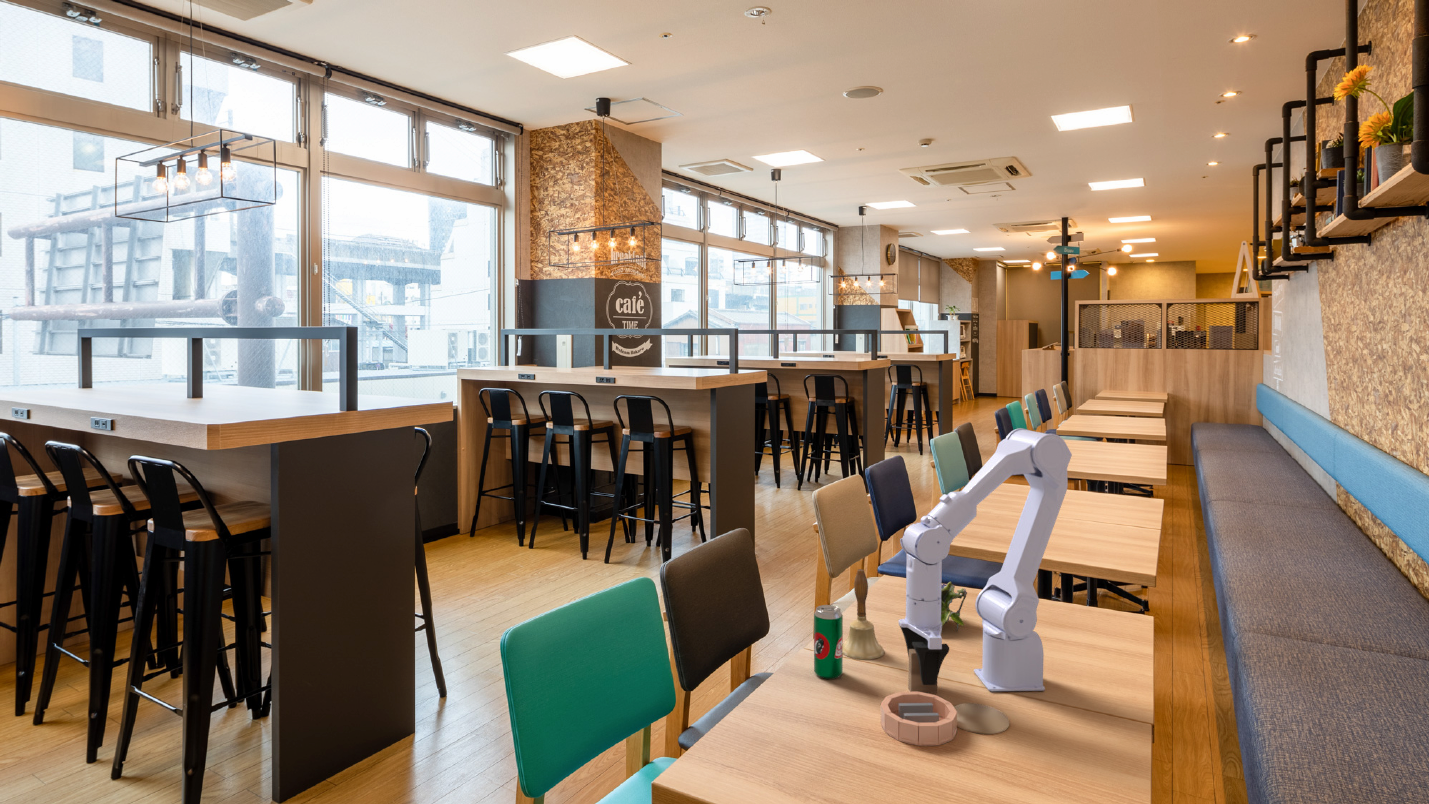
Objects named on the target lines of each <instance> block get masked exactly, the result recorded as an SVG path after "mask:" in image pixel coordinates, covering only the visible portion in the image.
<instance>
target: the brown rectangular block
mask: <svg viewBox="0 0 1429 804" xmlns="http://www.w3.org/2000/svg"><path fill="white" fill-rule="evenodd" d="M908 690H909V691H908V692H923V693H928V694H938V681H937V682H936V684H935V685H923V684H922V681H921V676H920V668H919V661H918V657H917V654H916V651H915V649H909V657H908Z"/></svg>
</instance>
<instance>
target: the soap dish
mask: <svg viewBox="0 0 1429 804" xmlns="http://www.w3.org/2000/svg"><path fill="white" fill-rule="evenodd" d="M880 724H881V725H880V726H881V728H882V730H883V732H885V734H886V735H888V736H890V737H891V738H893V739H895V740H897V741H898V742H902V743H905V744H909V745H913V746H920V747H921V746H922V747H932V746H933V747H935V746H940V745H944V744H947V743H949V742H951V741H953V740H954V738H955V737H956V736H957V730H958V726H957V711H956V710H955V708H954V705H953V703H951V702H950V701H948V700H946V699H944V698H942V697H940V695H939V696H938V695H937V694H936V695H935V694H933V693H923V692H910V691H898V692H895V693H892V694H889V695H886V696H885V697H884V699H883V700H882V702H881V703H880Z"/></svg>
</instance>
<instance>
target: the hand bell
mask: <svg viewBox="0 0 1429 804" xmlns="http://www.w3.org/2000/svg"><path fill="white" fill-rule="evenodd" d="M853 584H854V585H853V586H854V587H853V589H854V595H855V598H856V603H857V604H856V605H857V607H856V609H857V610H856V611H857V612H856V615H857V619H855V620H853V621H851V622H850V624H849V629H848V630H849V631H848V635H847V637H846V640H845V642H844V641H843V656H845V657H848V658H850V659H854V660H862V661H863V660H865V661H867V660H868V661H869V660H876V659H878V658H880V657H882V656H884V653H885V650H884V647H883V646H882V645H881V644H880V643H879V641H878V639H877V637H876V634H875V633H876V632H875V627H874V623H872V621H869V620H867V609H866V601H867V597H868V593H869V583H868V579H867V577H866V573H865V570H864V569H862V568H859V569H857V570H856V575H855V577H854V583H853Z"/></svg>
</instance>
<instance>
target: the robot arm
mask: <svg viewBox="0 0 1429 804" xmlns="http://www.w3.org/2000/svg"><path fill="white" fill-rule="evenodd" d="M1072 455H1073V453H1072V452H1071V449H1069V446H1068V445H1067V443H1066V441H1065V440H1064V438H1063V437H1061V436H1059V435H1058V434H1054V433H1045V432H1039V431H1033V430H1029V429H1026V428H1021V427H1019V428H1016V429H1013V430H1011V431H1010V432H1009V433H1008V434H1007V435H1006V437H1005V438H1004V439H1002V440H1001V441H1000V442H999V443H998V444H997V447H996V450H995V452H994V453H993V455H992V456H991V457H990V458H989V459H988V461H986V462H985V463H984V465H983V466H982V467H981V468H980V469H979V470H978V471H977V472H976V474H975V475H974V476H973V477H972V478H971V479H970V480H969V481H968V482H967V484H966V485H965V486H964V487H963V488H962V490H960V491H950V492H949V493H947V494H945V493H944V494H942V495H941V497H939V502H938V503H937V504H936V505H935V507H934V508H932V510H930V511H929V512H928V513H927V514H926V515H923V516H921V518H920V522H916V523H912V524H910V525H909V526H908V527H907V528H906V529H905V530H904V533H903V536H902V538H900V539H899V542H900V546H901V548H902V550H903V552H905V554H906V567H905V568H906V570H905V572H906V577H905V578H906V581H905V583H906V585H905V586H906V587H905V594H906V595H905V617H904V618H901V619H898V625H899V627H900V630H901V632H902V634H903V637H904V641H905V644H906V645H905V646H906V651H907V652H906V653H907V655H908V658H909V649H915V651H916V654H917V657H918V661H919V668H920V676H921V681H922V684H923V685H935V684H936V682H937V683H938V677H939V675H940V674H939V673H940V670H941V666H942V664H943V662H944V660H945V658H946V656H947V655H948V654H949V652H950V646H949V645H948V644H947V643H943V637H942V629H943V626H942V622H941V584H942V577H943V576H942V574H943V573H942V572H943V571H942V568H943V565H942V564H943V561H942V560H944V559H946V558H947V557H948V554H949V553H950V549H951V548H950V546H951V544H952V543H953V542H954V541H953V540H954V539H955V538H956V537H957V536H958V535H960V533H961V532H962V531H963V530H964V529H965V528H967V526H968V525H969V524H970V523H971V522H972V521H973V520H974V519H975V518H976V517H977V511H978V509H977V507H978V505H980V504H981V503H982V502H983V501H984V500H985V499H986V498H988V496H990V494H991V493H993V492H994V491H996V489H997V488H999V486H1001V485H1002V484H1003V483H1005V481H1006V480H1008V479H1009V478H1010V477H1011V476H1016V475H1023V476H1024V478H1025V479H1026V481H1027V483H1028V485H1029V487H1030V488H1029V491H1028V494H1027V498H1026V500H1025V502H1024V506H1023V509H1022V511H1021V514H1020V516H1019V519H1018V522H1017V525H1016V528H1015V531H1014V533H1013V536H1012V539H1011V541H1010V544H1009V547H1008V550H1007V552H1006V555H1005V558H1004V561H1003V564H1002V567H1001V569H1000V571H999V572H997V573H995V574H994V575H992V576H990V577H989V578H988V580H987V582H986V585H985V586H984V587H983V589H982V590H981V591H980V592H979V593H978V595H977V596H976V598H975V605H974V606H975V610H976V613H977V615H978V616H979V617H980V618H981V625H982V660H981V661H982V663H981V664H982V667H981V668H974V669H973V672H974V673H975V675H976V676H977V677H978V678H979V680H980V681H981V682H982V683H983V686H985V688H986V689H987V690H988V691H989V692H1022V691H1023V692H1025V691H1026V692H1029V691H1030V692H1031V691H1037V692H1038V691H1041V692H1042V691H1045V686H1044V656H1045V655H1044V646H1043V641H1042V639H1041V637H1040V635H1039V633H1037V632H1036V631H1034V630H1035V628H1036V625H1037V621H1038V616H1037V611H1038V610H1037V609H1038V606H1039V603H1040V598H1039V596H1038V594H1037V591H1036V589H1035V586H1034V582H1035V579H1036V576H1037V575H1038V571H1039V569H1040V566H1041V564H1042V560H1043V558H1044V554H1045V552H1046V549H1047V546H1048V543H1049V541H1050V538H1051V535H1052V532H1053V530H1054V527H1055V523H1056V522H1057V518H1058V516H1059V513H1060V510H1061V508H1062V504H1063V502H1064V499H1065V496H1066V493H1067V490H1068V486H1069V485H1068V467H1069V464H1070V461H1071V459H1072Z"/></svg>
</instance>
